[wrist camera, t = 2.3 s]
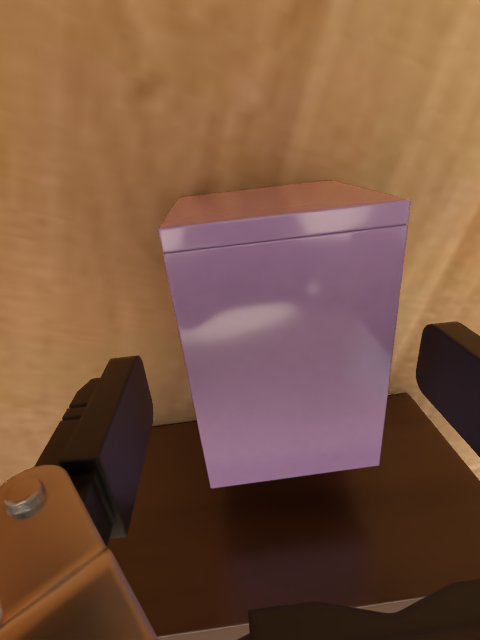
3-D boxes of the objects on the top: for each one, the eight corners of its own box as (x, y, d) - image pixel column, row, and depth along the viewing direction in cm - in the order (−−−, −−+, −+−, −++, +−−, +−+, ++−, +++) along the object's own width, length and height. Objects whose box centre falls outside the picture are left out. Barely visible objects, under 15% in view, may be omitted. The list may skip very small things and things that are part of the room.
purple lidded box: (178, 196, 13) (157, 228, 8) (331, 179, 13) (412, 198, 8) (210, 384, 17) (210, 489, 12) (327, 369, 17) (379, 465, 12)
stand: (131, 429, 18) (70, 650, 10) (408, 392, 19) (560, 577, 11) (188, 604, 26) (178, 805, 18) (380, 576, 27) (453, 760, 19)
